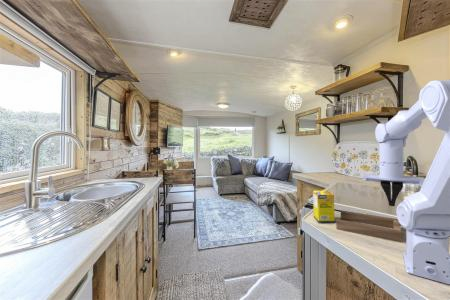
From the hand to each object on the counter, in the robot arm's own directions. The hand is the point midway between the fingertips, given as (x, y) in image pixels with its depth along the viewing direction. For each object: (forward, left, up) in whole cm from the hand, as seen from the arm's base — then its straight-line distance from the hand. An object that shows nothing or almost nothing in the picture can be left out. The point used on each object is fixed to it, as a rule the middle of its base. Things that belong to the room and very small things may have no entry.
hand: (391, 205), depth 62 cm
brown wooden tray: (+2, +6, -10) cm, 12 cm away
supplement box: (+2, +20, -10) cm, 23 cm away
